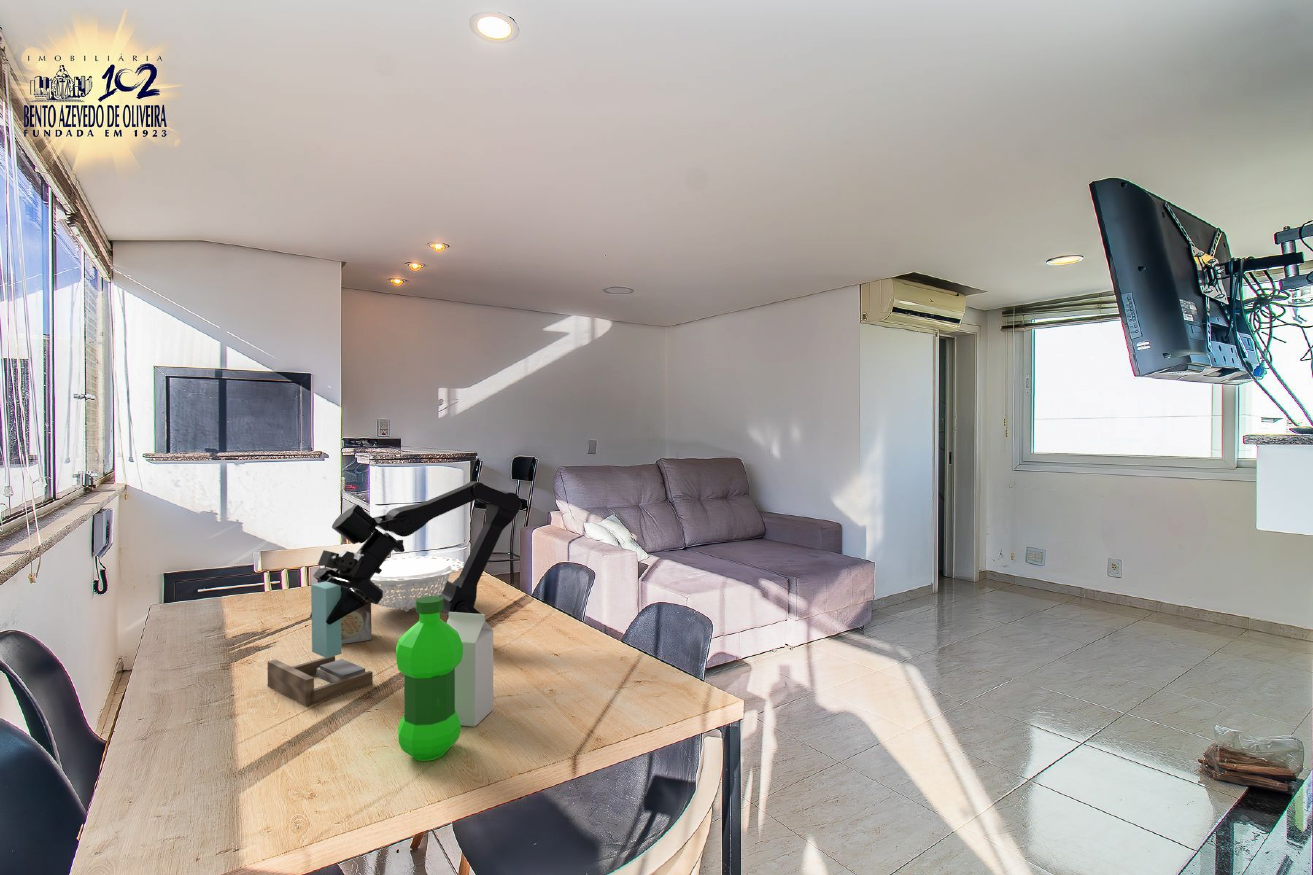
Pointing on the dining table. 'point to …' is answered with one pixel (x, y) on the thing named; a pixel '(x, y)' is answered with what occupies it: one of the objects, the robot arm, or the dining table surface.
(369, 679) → the frame
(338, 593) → the teal rectangular block
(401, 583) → the colander
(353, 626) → the coffee box
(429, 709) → the plastic bottle
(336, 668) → the offcut stack
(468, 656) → the milk carton
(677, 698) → the dining table surface
